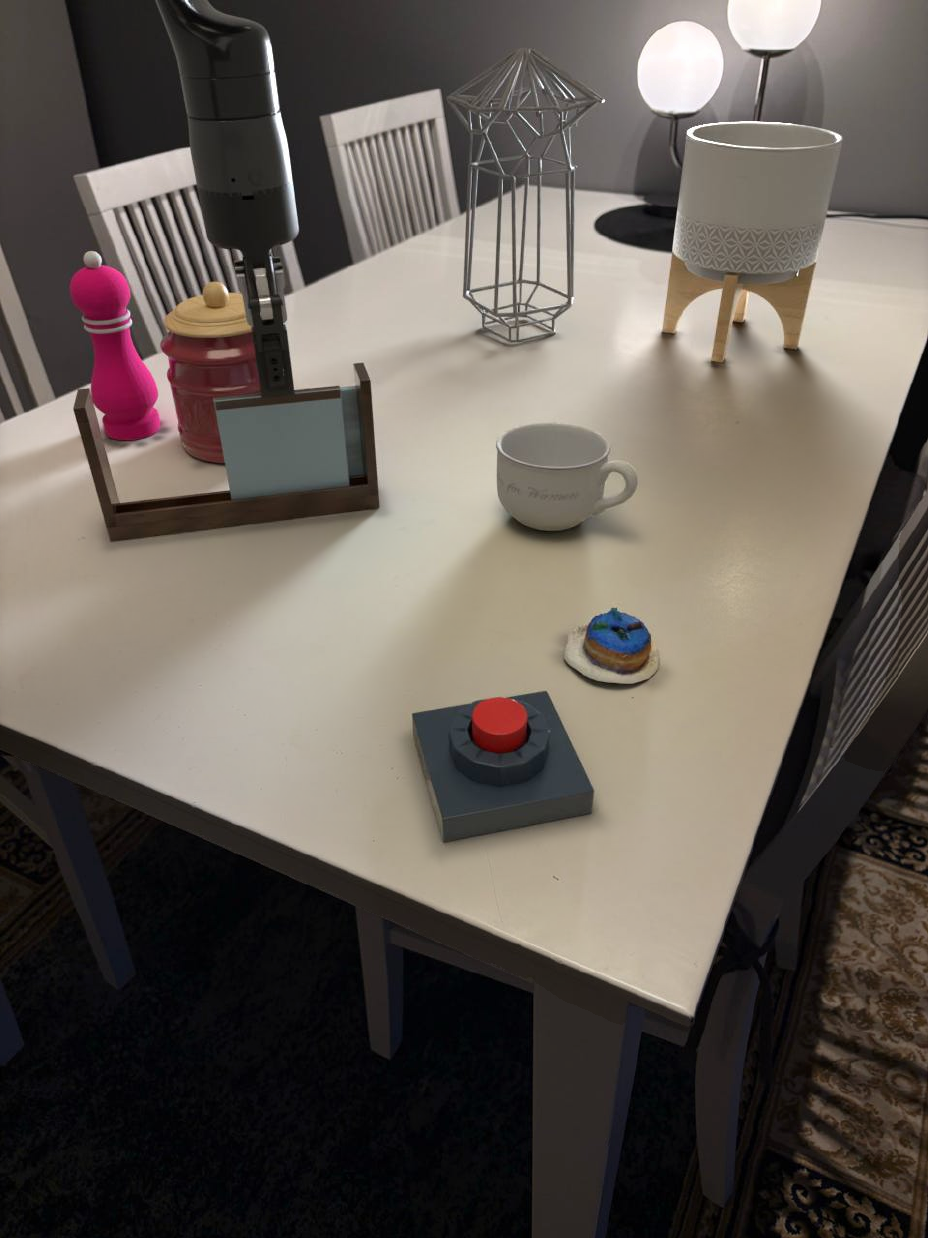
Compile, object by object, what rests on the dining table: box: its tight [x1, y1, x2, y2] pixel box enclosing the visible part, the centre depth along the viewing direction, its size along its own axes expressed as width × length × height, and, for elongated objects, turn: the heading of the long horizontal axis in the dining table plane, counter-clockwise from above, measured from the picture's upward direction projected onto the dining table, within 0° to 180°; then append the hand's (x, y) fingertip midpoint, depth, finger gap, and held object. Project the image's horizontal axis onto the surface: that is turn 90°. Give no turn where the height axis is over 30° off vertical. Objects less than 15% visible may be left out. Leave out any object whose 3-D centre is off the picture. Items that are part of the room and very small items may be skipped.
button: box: [472, 696, 527, 754], centre depth 60 cm, size 4×4×2 cm
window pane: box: [214, 323, 350, 500], centre depth 85 cm, size 12×2×17 cm, turn 104°
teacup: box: [495, 422, 639, 532], centre depth 87 cm, size 14×11×8 cm
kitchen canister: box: [159, 281, 261, 464], centre depth 99 cm, size 13×13×18 cm
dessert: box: [563, 606, 660, 685], centre depth 72 cm, size 8×7×6 cm
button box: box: [411, 690, 595, 843], centre depth 61 cm, size 10×10×4 cm
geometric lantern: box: [445, 47, 606, 343], centre depth 122 cm, size 16×16×35 cm
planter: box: [661, 121, 844, 363], centre depth 121 cm, size 19×19×26 cm
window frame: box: [72, 362, 381, 542], centre depth 87 cm, size 26×4×14 cm, turn 104°
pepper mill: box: [69, 250, 162, 441], centre depth 101 cm, size 7×7×20 cm
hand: (277, 383), depth 83 cm, fingers closed on window pane
